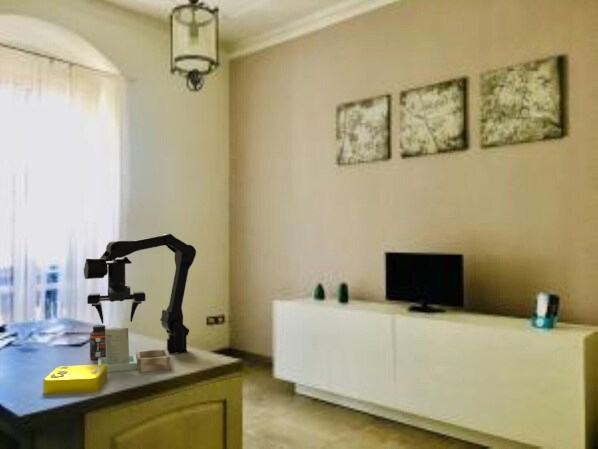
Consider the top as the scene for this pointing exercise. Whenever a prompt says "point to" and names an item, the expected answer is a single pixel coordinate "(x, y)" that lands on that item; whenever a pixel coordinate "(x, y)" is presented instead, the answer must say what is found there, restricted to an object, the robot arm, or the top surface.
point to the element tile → (75, 379)
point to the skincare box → (117, 345)
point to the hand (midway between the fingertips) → (117, 322)
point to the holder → (152, 360)
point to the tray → (120, 367)
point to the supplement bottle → (98, 342)
